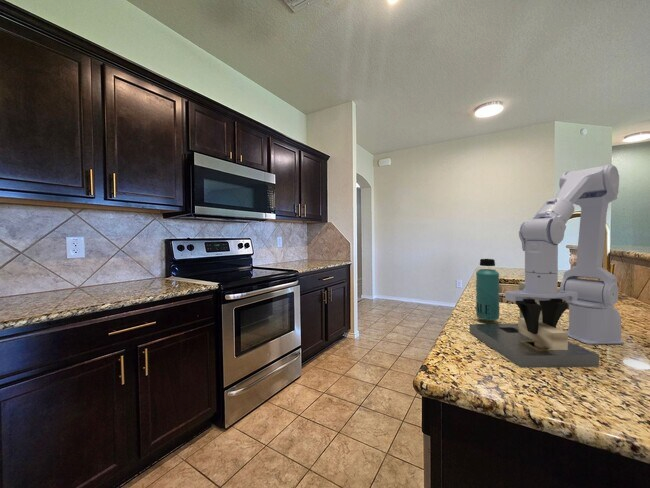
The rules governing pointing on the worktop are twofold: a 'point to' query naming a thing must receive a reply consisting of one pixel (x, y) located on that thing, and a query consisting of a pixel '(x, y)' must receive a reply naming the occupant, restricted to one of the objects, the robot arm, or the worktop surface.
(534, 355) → the charcoal cover panel
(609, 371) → the worktop surface
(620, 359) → the worktop surface
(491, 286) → the beverage bottle
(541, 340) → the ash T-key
